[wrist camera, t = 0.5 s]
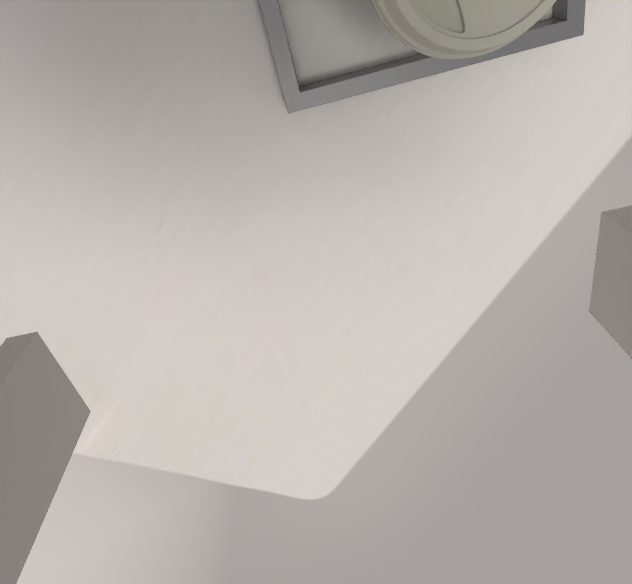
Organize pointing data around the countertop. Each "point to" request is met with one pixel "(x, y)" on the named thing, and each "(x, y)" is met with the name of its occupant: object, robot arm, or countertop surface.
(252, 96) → the countertop surface
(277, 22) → the divided tray
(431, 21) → the coffee cup
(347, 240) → the countertop surface
